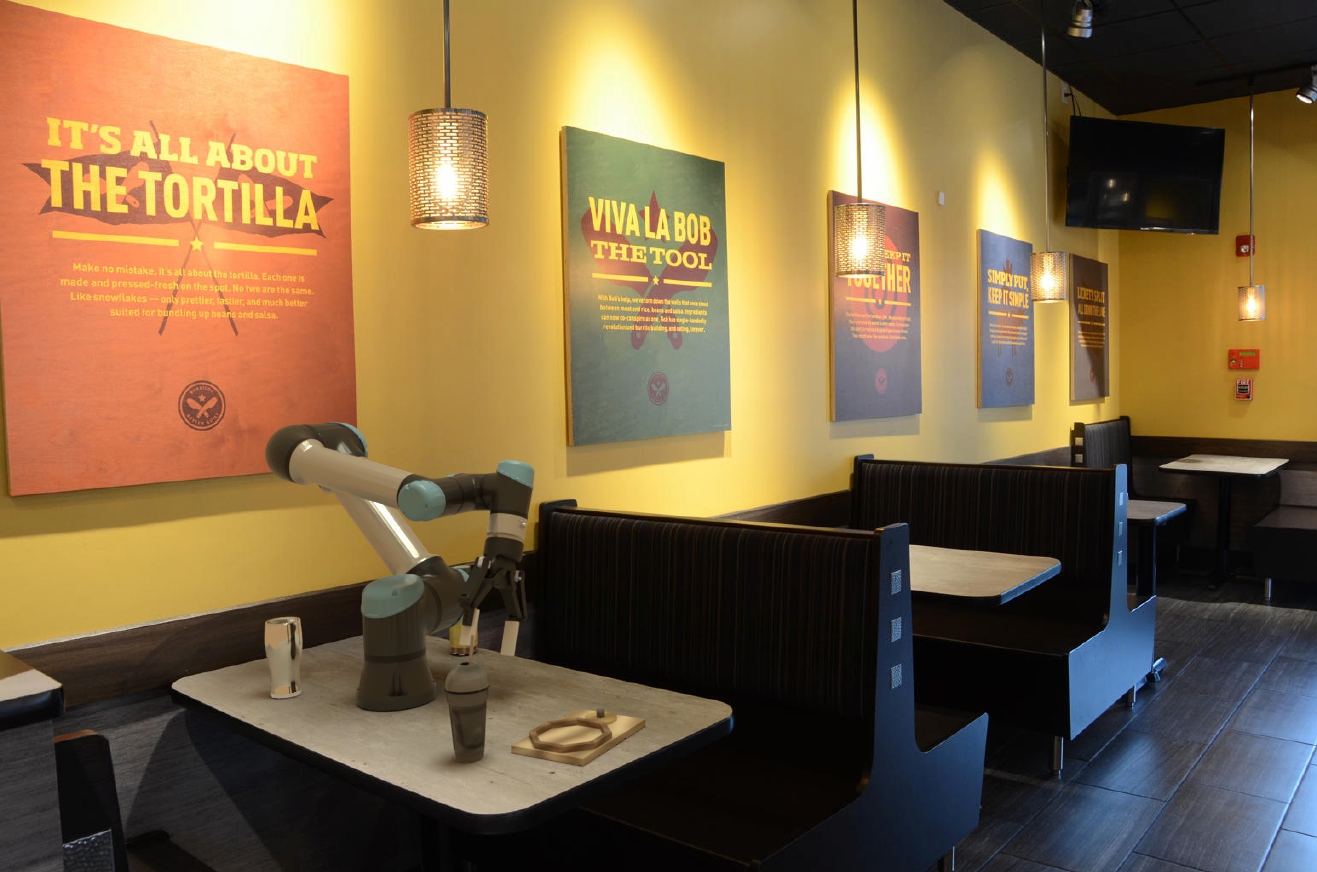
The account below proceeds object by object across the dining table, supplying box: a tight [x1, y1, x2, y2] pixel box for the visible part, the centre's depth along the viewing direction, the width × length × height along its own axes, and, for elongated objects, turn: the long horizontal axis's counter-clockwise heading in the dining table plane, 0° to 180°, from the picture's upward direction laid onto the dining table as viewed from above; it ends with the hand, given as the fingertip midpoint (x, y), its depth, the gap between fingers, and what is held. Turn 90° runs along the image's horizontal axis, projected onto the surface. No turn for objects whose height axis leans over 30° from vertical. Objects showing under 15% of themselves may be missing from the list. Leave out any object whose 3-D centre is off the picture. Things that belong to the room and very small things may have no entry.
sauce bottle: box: [448, 564, 479, 654], centre depth 221 cm, size 6×6×20 cm
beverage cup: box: [443, 635, 491, 764], centre depth 157 cm, size 7×7×20 cm
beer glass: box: [264, 616, 303, 695], centre depth 193 cm, size 7×7×15 cm
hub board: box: [510, 708, 646, 767], centre depth 164 cm, size 14×20×3 cm
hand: (487, 650), depth 181 cm, fingers open, 13 cm apart
